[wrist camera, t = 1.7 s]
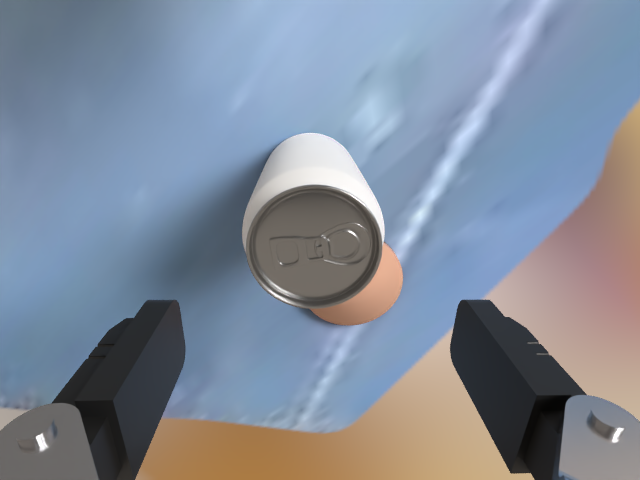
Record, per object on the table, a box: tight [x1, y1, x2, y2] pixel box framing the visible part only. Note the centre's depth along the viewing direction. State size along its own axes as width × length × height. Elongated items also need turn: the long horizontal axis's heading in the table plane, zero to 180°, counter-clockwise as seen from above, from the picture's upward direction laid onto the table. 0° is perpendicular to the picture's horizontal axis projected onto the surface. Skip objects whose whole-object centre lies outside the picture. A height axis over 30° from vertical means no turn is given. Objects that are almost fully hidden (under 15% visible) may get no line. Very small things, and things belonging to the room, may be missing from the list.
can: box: [242, 133, 384, 309], centre depth 21 cm, size 6×6×12 cm
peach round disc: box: [310, 242, 403, 325], centre depth 29 cm, size 8×8×1 cm
